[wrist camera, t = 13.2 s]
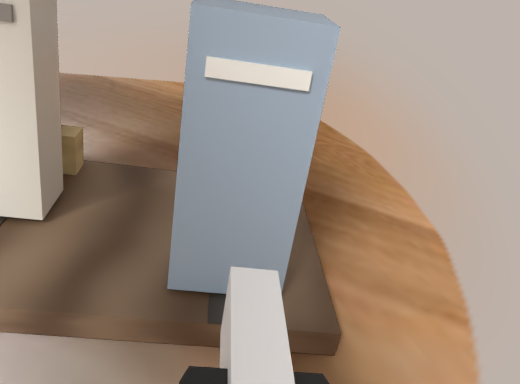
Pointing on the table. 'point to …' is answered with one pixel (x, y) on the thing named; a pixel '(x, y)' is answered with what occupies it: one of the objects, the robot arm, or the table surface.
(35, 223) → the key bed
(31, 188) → the key cream
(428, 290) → the table surface
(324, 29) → the light blue tall block
